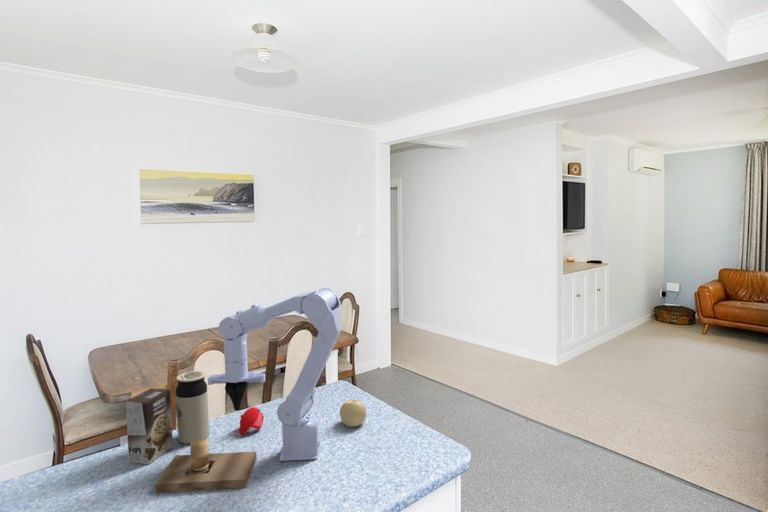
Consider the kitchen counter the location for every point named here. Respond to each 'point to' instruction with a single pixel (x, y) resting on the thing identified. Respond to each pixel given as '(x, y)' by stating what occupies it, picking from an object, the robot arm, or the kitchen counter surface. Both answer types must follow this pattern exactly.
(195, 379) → the travel mug
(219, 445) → the kitchen counter surface
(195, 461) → the oak peg
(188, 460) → the walnut board
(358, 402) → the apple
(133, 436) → the coffee box
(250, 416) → the cap
